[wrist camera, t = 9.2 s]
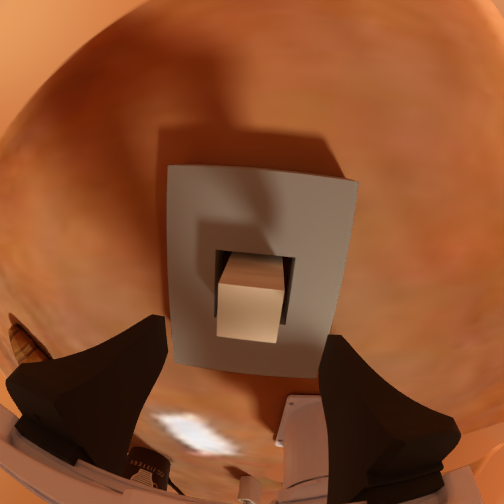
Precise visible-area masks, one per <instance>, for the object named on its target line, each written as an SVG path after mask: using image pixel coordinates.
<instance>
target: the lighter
mask: <svg viewBox="0 0 504 504" xmlns="http://www.w3.org/2000/svg"><path fill="white" fill-rule="evenodd" d="M260 496H261V483H260V482H258V481H257V480H256V479H255V478H254V477H253V476H251V475H249V476H241V478H240V486H239V494H238V500H239V501H241V502H242V503H243V504H260Z"/></svg>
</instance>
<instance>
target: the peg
mask: <svg viewBox="0 0 504 504" xmlns="http://www.w3.org/2000/svg"><path fill="white" fill-rule="evenodd" d="M284 292H285V288H284V273H283V259H282V256H275V255H265V254H254V253H244V252H234V251H232V253H231V255H230V258H229V260H228V262H227V265H226V267H225V269H224V272H223V274H222V276H221V278H220V281H219V283H218V309H217V336H220V337H227V338H235V339H243V340H251V341H260V342H270V343H276V341H277V335H278V329H279V323H280V317H281V311H282V304H283V298H284Z"/></svg>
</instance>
